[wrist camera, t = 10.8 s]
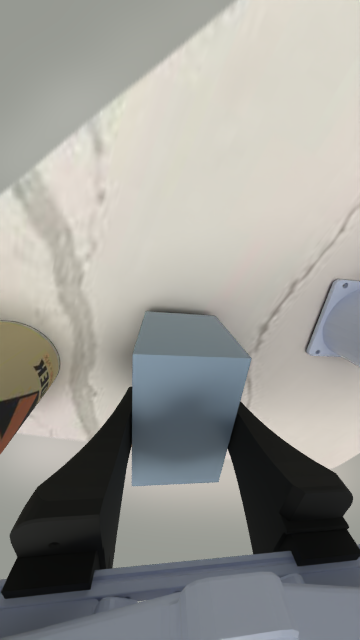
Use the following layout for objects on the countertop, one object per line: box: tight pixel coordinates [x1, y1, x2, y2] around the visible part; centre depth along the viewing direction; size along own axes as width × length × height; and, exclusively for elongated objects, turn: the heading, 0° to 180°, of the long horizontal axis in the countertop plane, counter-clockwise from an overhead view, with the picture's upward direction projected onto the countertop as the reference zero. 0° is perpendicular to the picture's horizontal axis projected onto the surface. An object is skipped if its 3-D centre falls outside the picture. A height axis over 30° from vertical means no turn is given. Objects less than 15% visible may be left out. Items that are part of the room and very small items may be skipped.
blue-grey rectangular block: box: [132, 311, 252, 486], centre depth 13 cm, size 6×10×7 cm, turn 174°
